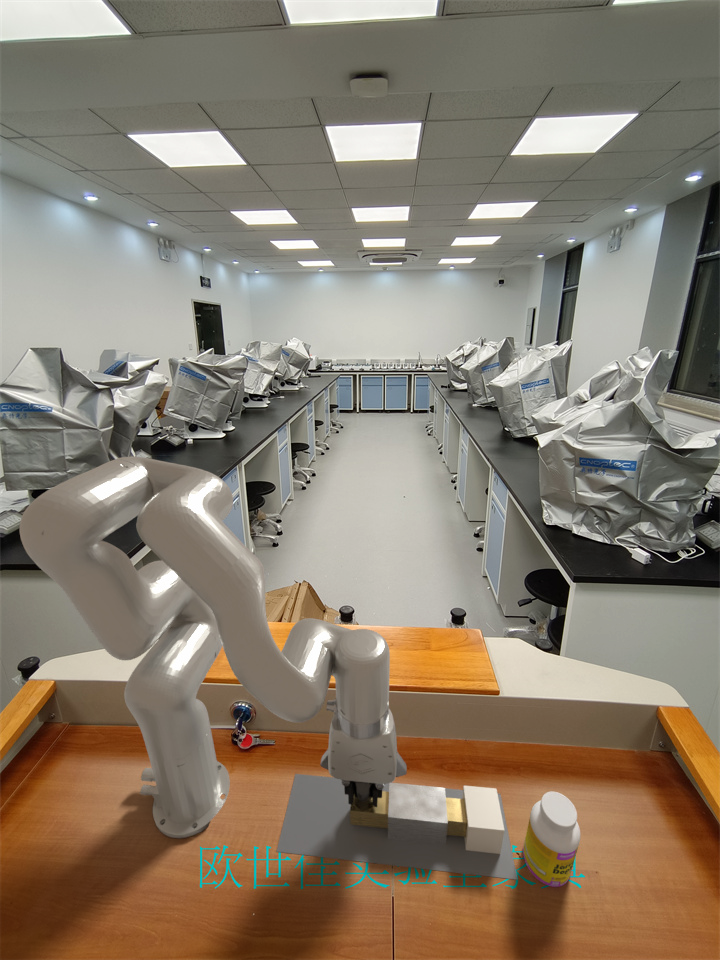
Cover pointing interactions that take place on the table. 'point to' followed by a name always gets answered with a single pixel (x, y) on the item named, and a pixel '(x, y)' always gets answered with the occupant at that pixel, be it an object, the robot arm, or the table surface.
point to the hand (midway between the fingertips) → (363, 795)
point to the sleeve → (417, 813)
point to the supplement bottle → (552, 839)
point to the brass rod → (378, 816)
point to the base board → (375, 835)
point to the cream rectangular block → (483, 820)
